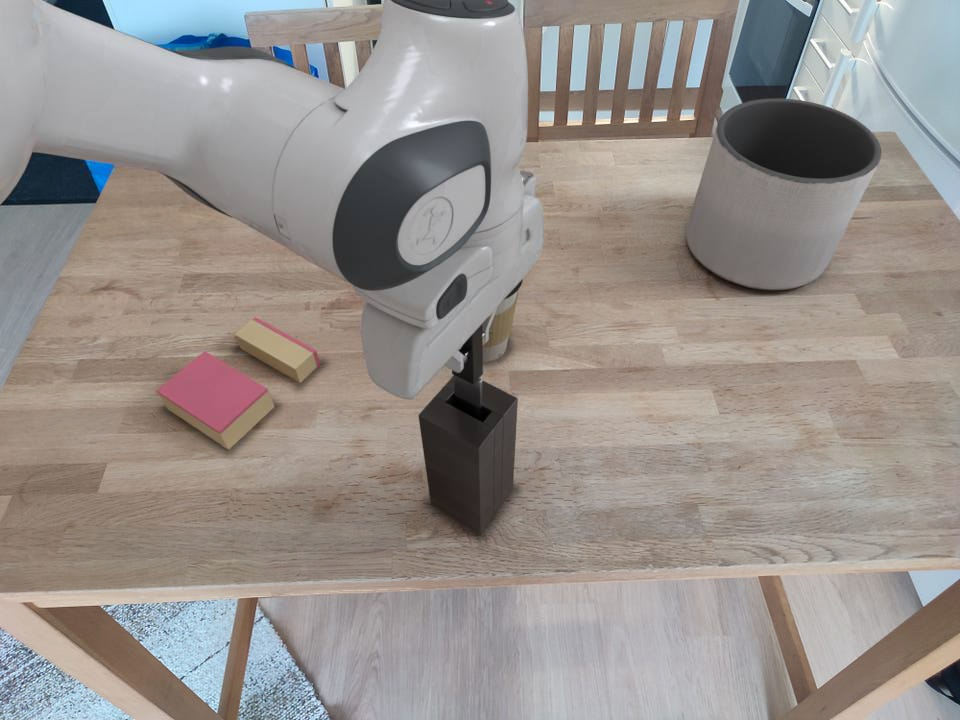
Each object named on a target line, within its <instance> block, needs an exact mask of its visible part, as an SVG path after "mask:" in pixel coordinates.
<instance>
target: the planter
mask: <svg viewBox="0 0 960 720" xmlns="http://www.w3.org/2000/svg"><path fill="white" fill-rule="evenodd" d="M881 159H882V147H881V144H880V142H879V140H878V138H877V137H876V135H875V134H874V132H872V131H871V130H870V129H869V128H868V127H867V126H866V125H864V124H863V123H862V122H861V121H859V120H857V119H856V118H854V117H852V116H851V115H849V114H846V113H845V112H843V111H840V110H838V109H835V108H833V107H831V106H827V105H823V104H819V103H816V102H812V101H808V100H802V99H794V98H779V97H777V98H775V97H773V98H762V99H761V98H759V99H754V100H747V101H746V102H745V101H744V102H741V103H739V104H737V105H734V106H732V107H731V108H729V109H728V110H726V111H725V112H723V114H722V115H721V116H720V118H719V119H718V121H717V124H716V127H715V131H714V134H713V138H712V141H711V144H710V147H709V151H708V155H707V158H706V161H705V165H704V168H703V171H702V174H701V177H700V180H699V184H698V186H697V187H698V188H697V191H696V193H695V197H694V201H693V204H692V206H691V210H690V213H689V217H688V220H687V224H686V231H685V233H686V234H685V238H686V243H687V246H688V248H689V251H690V252H691V254H692V255H693V257H694V258H695V259H696V260H697V261H698V262H699V263H700V264H701V265H702V266H703V267H704V268H706V270H708V271H710V272H711V273H713V274H714V275H716V276H717V277H719V278H720V279H723V280H725V281H726V282H730V283H732V284H735V285H738V286H741V287H744V288H749V289H753V290H761V291H785V290H792V289H797V288H800V287H803V286H806V285H808V284H810V283H812V282H814V281H816V280H817V279H818V278H819V277H821V275H822V274H823V273H824V272H825V270H826V269H827V267H828V266H829V264H830V262H831V261H832V259H833V257H834V255H835V253H836V251H837V249H838V247H839V244H840V243H841V240H842V239H843V236H844V234H845V232H846V231H847V228H848V226H849V224H850V222H851V220H852V218H853V216H854V214H855V212H856V210H857V208H858V206H859V204H860V202H861V200H862V198H863V196H864V194H865V191H866V190H867V188H868V186H869V184H870V182H871V180H872V179H873V176H874V174H875V172H876V170H877V168H878V166H879V164H880V162H881Z"/></svg>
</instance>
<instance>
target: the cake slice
mask: <svg viewBox="0 0 960 720" xmlns="http://www.w3.org/2000/svg"><path fill="white" fill-rule="evenodd" d="M234 337H235V340H236V342H237V344H238V346H239V349H241V350H243V352H246V353H247V354H249V355H250V356H252V357H255V358H256V359H257V360H259V361H260V362H261V361H262V362H263V363H265V364H267V365H268V366H269V367H271V368H273V369H275V370H277V371H278V372H280V373H282V374H283V375H286V376H287V377H289V378H290V379H292V380H294V381H296V382H298V383H299V384H301V383H302V382H304V380H305V379H307V377H309V376H310V375H311V374H312V373H313V372H314V371H315V370H316V369H317V368H318V367H319V366H320V365H321V362H320V358H319V355H318V352H317V349H315V348H313V347H311V346H309V345H307V344H306V343H304V342H302V341H300V340H299V339H296V338H295V337H293V336H291V335H289V334H287V333H286V332H283V331H282V330H280V329H278V328H276V327H275V326H273V325H270V324H269V323H268V322H266V321H264V320H261V319H260V318H258V317H257V316H254V317H253V318H252V319H251V320H250V321H248V323H246V324H245V325H243V326H242V327H241V328H240V329H239V330H238V331H236V332H235V333H234Z"/></svg>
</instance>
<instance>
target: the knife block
mask: <svg viewBox="0 0 960 720" xmlns="http://www.w3.org/2000/svg"><path fill="white" fill-rule="evenodd" d="M482 398H483V422H481V421H479V420H477V419H475V418H474V417H472V416H470V415H468V414H466V413H464V412H462V411H460V410H459V409H457V408H456V406H455V391H454V376H453V375H452V376H451V378H450V379H449V380H448V381H447V382H446V383H445V384H444V386H443V387H441V389H440V390H439V391H438V392H437V393H436V395H435V396H434V397H432V399H431V400H430V401H429V402H428V403H427V404H426V406H425V407H424V408H423V409H422V410H421V411H420V413H419V414H418V415H417V416H418V422H419V430H420V436H421V437H420V438H421V445H422V451H423V452H422V453H423V458H424V465H425V473H426V480H427V487H428V495H429V503H430V506H431V507H433V508H434V509H436V510H437V511H438V512H440V513H442V514H444V515H446V516H447V517H448V518H450V519H452V520H454V521H455V522H457V523H459V524H460V525H462V526H463V527H465V528H467V529H468V530H470V531H471V532H473V533H475V534H476V535H478V536H483V533H484V532H485V531H486V529H487V528H488V526H489V525H490V524H491V523H492V521H493V520H494V518H495V516H496V515H497V513H498V512H499V511H500V509H501V508H502V507H503V505H505V502H506V501H507V499H508V498H509V497H510V495H511V494H512V492H513V491H514V478H515V477H514V476H515V475H514V474H515V458H516V439H517V421H518V402H519V398H518V397H517V396H514V395H513V394H510V393H508V392H507V391H505V390H502V389H501V388H498V387H497V386H494V385H493V384H492V383H489V382H487V381H485V380H483V379H482Z"/></svg>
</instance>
